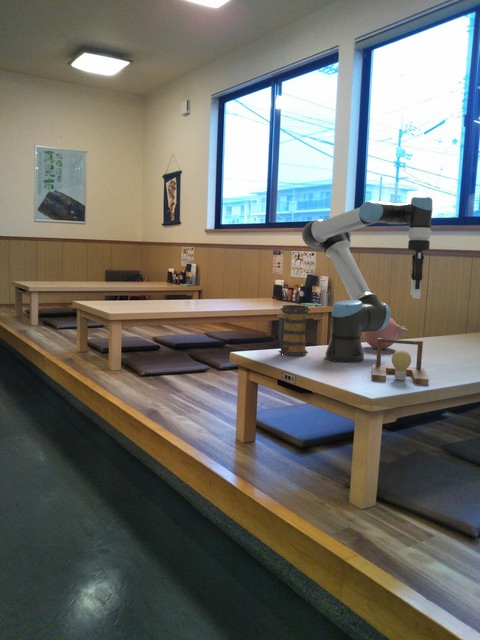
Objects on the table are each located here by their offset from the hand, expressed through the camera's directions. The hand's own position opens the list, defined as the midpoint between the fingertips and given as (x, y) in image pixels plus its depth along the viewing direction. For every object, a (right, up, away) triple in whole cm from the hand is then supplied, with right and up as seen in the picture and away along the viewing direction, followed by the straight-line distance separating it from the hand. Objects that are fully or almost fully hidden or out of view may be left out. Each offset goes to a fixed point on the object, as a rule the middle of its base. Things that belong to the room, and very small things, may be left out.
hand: (415, 296), depth 203 cm
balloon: (-1, -22, +39) cm, 45 cm away
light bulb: (-11, -29, -19) cm, 37 cm away
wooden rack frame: (-10, -29, -15) cm, 34 cm away
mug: (-45, -23, +19) cm, 54 cm away
